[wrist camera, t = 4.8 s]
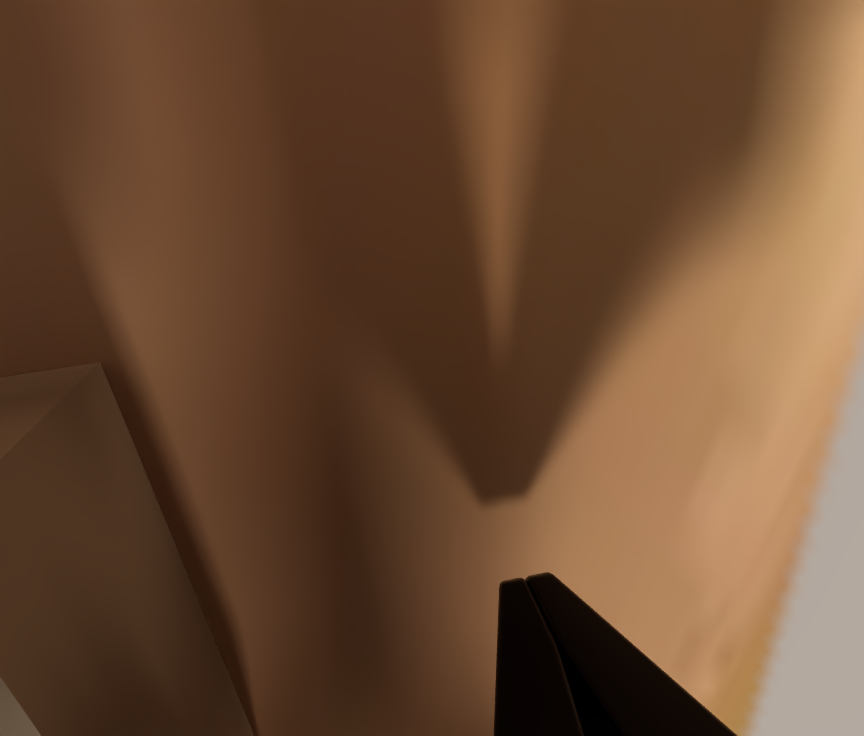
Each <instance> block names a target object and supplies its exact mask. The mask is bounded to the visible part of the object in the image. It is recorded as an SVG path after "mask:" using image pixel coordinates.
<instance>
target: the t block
mask: <svg viewBox="0 0 864 736" xmlns="http://www.w3.org/2000/svg"><path fill="white" fill-rule="evenodd" d="M0 736H254V733H253V731H252V728H251V726H250V724H249V721H248V719H247V716H246V714H245V711H244V709H243V707H242V704H241V702H240V699H239V697H238V694H237V692H236V690H235V687H234V685H233V682H232V680H231V678H230V675H229V673H228V670H227V668H226V665H225V663H224V661H223V658H222V656H221V653H220V651H219V648H218V646H217V644H216V641H215V639H214V636H213V634H212V632H211V629H210V627H209V624H208V622H207V619H206V617H205V615H204V612H203V610H202V607H201V605H200V602H199V600H198V598H197V595H196V593H195V590H194V588H193V586H192V583H191V581H190V578H189V576H188V573H187V571H186V569H185V566H184V564H183V561H182V559H181V556H180V554H179V552H178V549H177V547H176V544H175V542H174V540H173V537H172V535H171V532H170V530H169V527H168V525H167V523H166V520H165V518H164V515H163V513H162V510H161V508H160V506H159V503H158V501H157V498H156V496H155V494H154V491H153V489H152V486H151V484H150V481H149V479H148V477H147V474H146V472H145V469H144V467H143V464H142V462H141V460H140V457H139V455H138V452H137V450H136V448H135V445H134V443H133V440H132V438H131V435H130V433H129V431H128V428H127V426H126V423H125V421H124V418H123V416H122V414H121V411H120V409H119V406H118V404H117V402H116V399H115V397H114V394H113V392H112V389H111V387H110V385H109V382H108V380H107V377H106V375H105V372H104V370H103V368H102V365H101V363H100V362H97V363H91V364H84V365H78V366H71V367H65V368H58V369H52V370H45V371H38V372H32V373H25V374H19V375H12V376H6V377H0Z"/></svg>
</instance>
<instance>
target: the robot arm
mask: <svg viewBox="0 0 864 736" xmlns="http://www.w3.org/2000/svg"><path fill="white" fill-rule="evenodd" d="M494 736H737V735H736V734H735V733H734V732H733V731H731V730H730V729H729V728H728V727H727V726H726V725H725V724H723V723H722V722H721V721H720V720H719V719H718V718H717V717H715V716H714V715H713V714H712V713H711V712H710V711H709V710H707V709H706V708H705V707H704V706H703V705H702V704H701V703H699V702H698V701H697V700H696V699H695V698H694V697H693V696H691V695H690V694H689V693H688V692H687V691H686V690H685V689H683V688H682V687H681V686H680V685H679V684H678V683H677V682H675V681H674V680H673V679H672V678H671V677H670V676H669V675H667V674H666V673H665V672H664V671H663V670H662V669H661V668H659V667H658V666H657V665H656V664H655V663H654V662H653V661H651V660H650V659H649V658H648V657H647V656H646V655H645V654H643V653H642V652H641V651H640V650H639V649H638V648H637V647H635V646H634V645H633V644H632V643H631V642H630V641H629V640H627V639H626V638H625V637H624V636H623V635H622V634H621V633H619V632H618V631H617V630H616V629H615V628H614V627H613V626H611V625H610V624H609V623H608V622H607V621H606V620H605V619H603V618H602V617H601V616H600V615H599V614H598V613H597V612H595V611H594V610H593V609H592V608H591V607H590V606H589V605H587V604H586V603H585V602H584V601H583V600H582V599H581V598H579V597H578V596H577V595H576V594H575V593H574V592H573V591H571V590H570V589H569V588H568V587H567V586H566V585H565V584H563V583H562V582H561V581H560V580H559V579H558V578H557V577H555V576H554V575H553V574H551V573H548V572H546V573H541V574H536V575H531V576H528V577H527V578H526V580H525V579H523V578H516V579H512V580H507V581H503V582H501V583H500V586H499V607H498V634H497V661H496V688H495V714H494Z"/></svg>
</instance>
